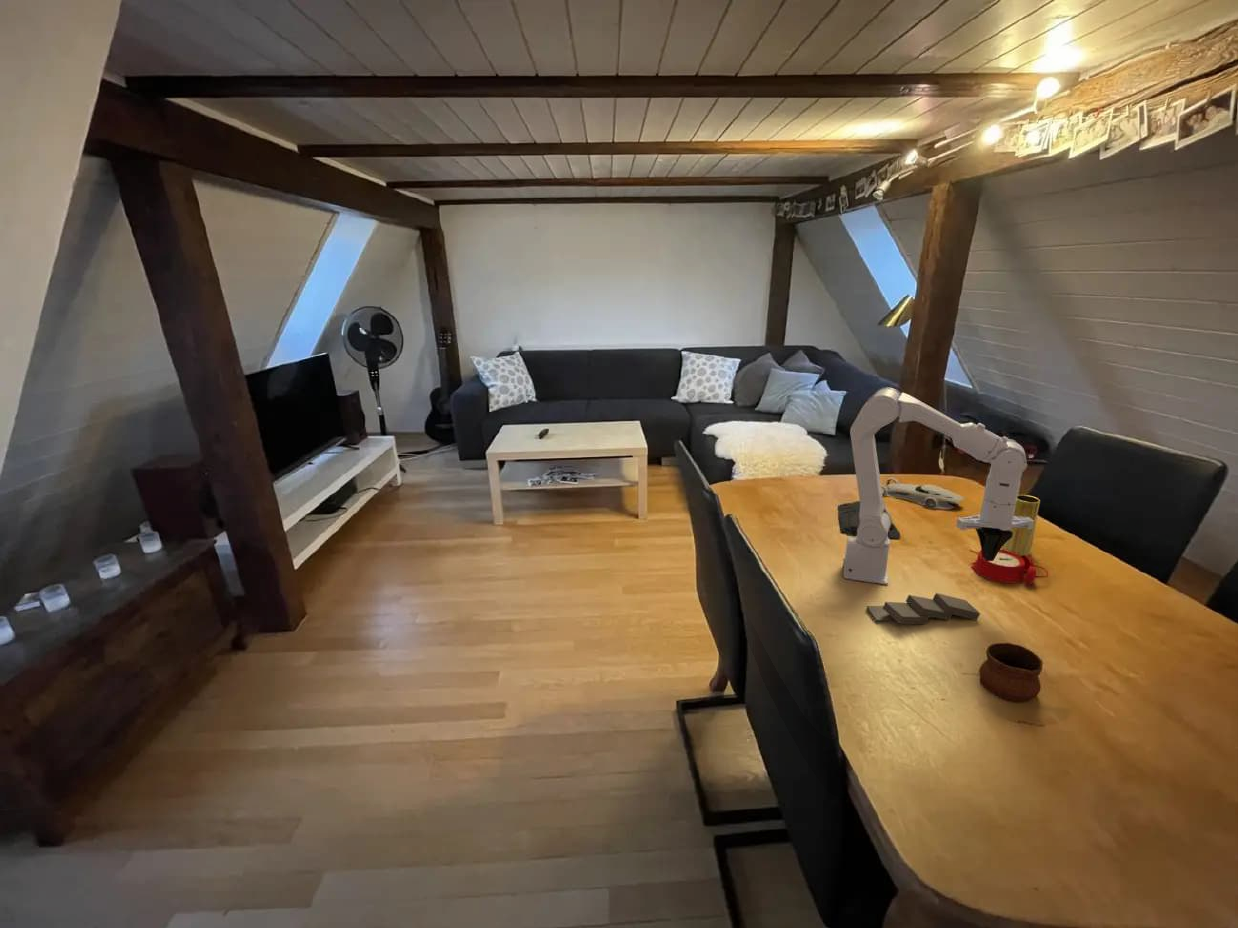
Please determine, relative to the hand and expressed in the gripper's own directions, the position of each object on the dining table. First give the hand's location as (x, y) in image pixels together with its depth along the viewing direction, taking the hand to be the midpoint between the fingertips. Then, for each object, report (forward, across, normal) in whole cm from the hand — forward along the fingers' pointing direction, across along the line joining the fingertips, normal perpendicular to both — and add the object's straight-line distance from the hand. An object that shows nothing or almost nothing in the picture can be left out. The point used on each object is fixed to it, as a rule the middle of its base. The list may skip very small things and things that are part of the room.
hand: (987, 558), depth 122 cm
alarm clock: (+10, +12, +10) cm, 19 cm away
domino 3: (+9, -5, -6) cm, 12 cm away
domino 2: (+9, -11, -6) cm, 15 cm away
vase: (+10, +21, +22) cm, 32 cm away
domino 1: (+9, -16, -7) cm, 20 cm away
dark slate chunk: (+11, -9, +40) cm, 43 cm away
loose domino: (+10, -19, -6) cm, 22 cm away
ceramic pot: (+10, -11, -28) cm, 32 cm away
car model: (+10, +13, +57) cm, 60 cm away
